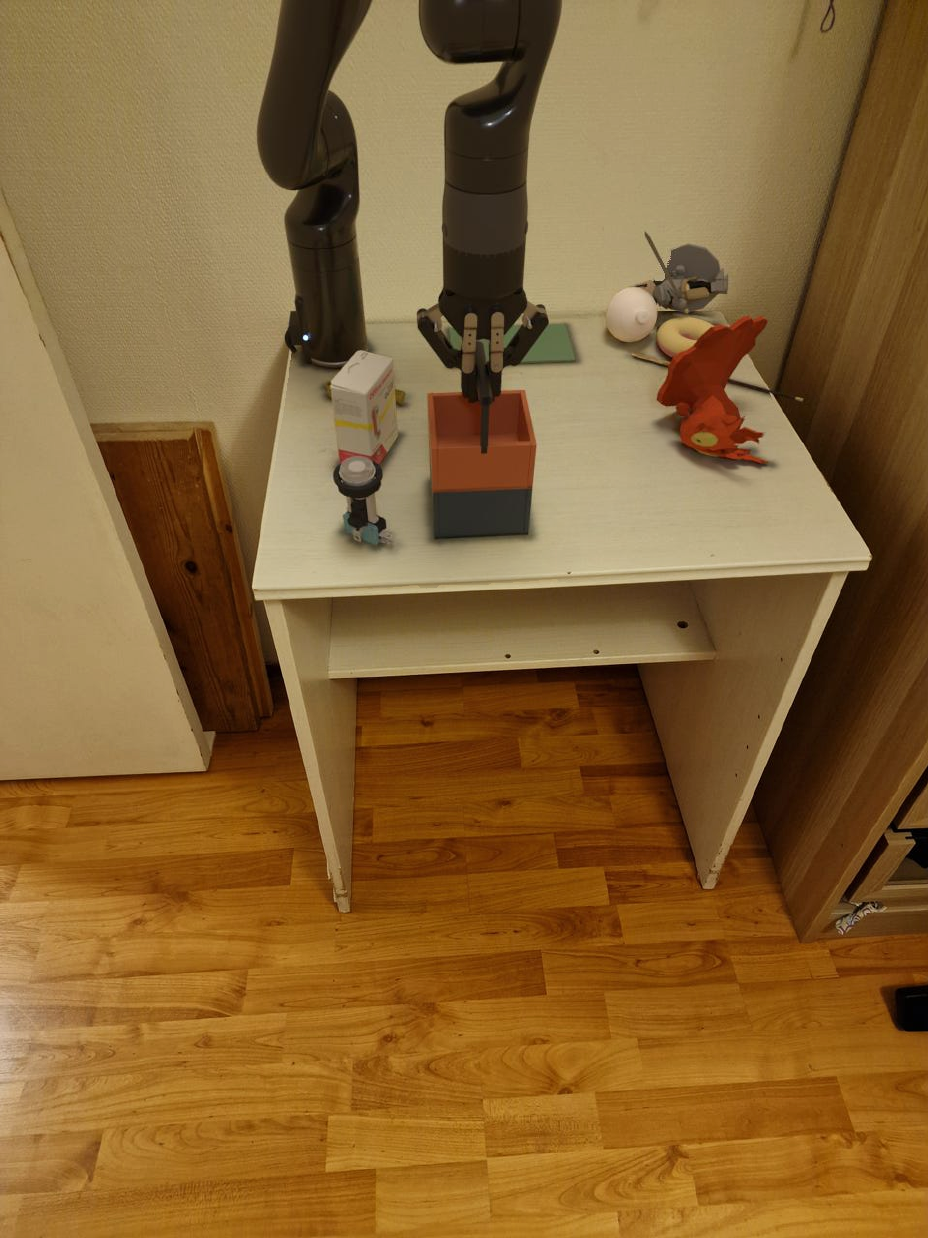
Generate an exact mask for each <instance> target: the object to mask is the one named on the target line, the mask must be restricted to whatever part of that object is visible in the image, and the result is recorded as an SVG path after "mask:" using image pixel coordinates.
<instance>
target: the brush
mask: <svg viewBox="0 0 928 1238" xmlns="http://www.w3.org/2000/svg"><path fill="white" fill-rule="evenodd" d="M631 355H632V356H635V357H637V358H639V359H642V360H646V361H651V362H654V363H657V364H661V365H664V366H666V367H669V365H670V363H671V361H669V360H664V359H658V358H656V357H651V356H648V355H645V354H640V353H631ZM727 383H733V384H736V385H740V386H743V387H747V388H751V389H755V390H758V391H762V392H765V393H768V394H772V395H776V396H780V397H784V398H787V399H791V400H794V401H797V402H801V403H803V401H804V398H803V397H798V396H794V395H790V394H787V393H782V392H779V391H775V390H772V389H768V388H764V387H761V386H757V385H754V384H750V383H746V382H742V381H738V380H734V379H731V378H729V380H728V382H727Z"/></svg>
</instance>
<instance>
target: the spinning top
mask: <svg viewBox="0 0 928 1238" xmlns="http://www.w3.org/2000/svg"><path fill="white" fill-rule="evenodd" d="M657 319H658V304H657V305H656V302H655V300H654V298H653V297H652V295H651V294H650V293H649V292H647V291H646V290H644V289H642V288H638V287H630V288H628V287H626V288H623V289H621V290H619V291H618V292H617V293H615V294H614V295H613V296H612V298H611V299H610V301H608V304H607V306H606V309H605V324H606V327H607V329H608V331H609V332H610V334H611V335H612V336H613V337H614V338H615V339H617V340H619V341H621V342H624V343H635V342H639V341H641V340H643V339H644V338H646V337H647V336H648V335H649V334H650V333H651V332H652V330H653V329H654V327H655V325H656V323H657Z"/></svg>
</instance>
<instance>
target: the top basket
mask: <svg viewBox="0 0 928 1238" xmlns="http://www.w3.org/2000/svg"><path fill="white" fill-rule="evenodd" d="M474 364H475V371H476V397H475V403H469V402H468V398H464V397H463V395H462V391H452V392H451V391H449V392H428V393H426V395H427V423H428V427H427V428H428V448H429V447H430V456H429V462H430V461H431V475H432V488H433V493H437V492H460V491H484V490H508V489H532V490H533V488H534V475H535V466H536V454H537V445H538V444H537V440H536V435H535V431H534V425H533V421H532V416H531V411H530V408H529V402H528V398H527V393H526V389H506V390H503V389H502V390H501V393H500V395H499V397H495V399H494V402H493V398H492V392H491V386H490V380H489V375H488V369H487V362H486V356H485V350H484V345H483V343H482V342H480V341H476V347H475V355H474Z"/></svg>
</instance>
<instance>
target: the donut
mask: <svg viewBox="0 0 928 1238" xmlns="http://www.w3.org/2000/svg"><path fill="white" fill-rule="evenodd" d="M714 326H715V325H713V323H711V322H708V321H707V320H704V319H701V318H697V317H689V316H678V317H677V316H676V317H673V318H669V319H667V320H666V321H664V322H663V323H662V324H661V325H660V327H659V328H658V330H657V333H656V342H657V344H658V347H659V348H660V350H661V351H662V352H663V353H664V354H665V355H667V356H669V357H670V358H672V359H673V358H674V357H675V356H676V355H678V354H679V353H680V352H682V351H686V350H688V349H689V348H691V347H692V346H693V345H694V344H695V343H696V342H697V340H698V339H699V338H700V337H701V335H702V334H704V333H705V332H706V331H707V330H708V329H709V328H711V327H714Z"/></svg>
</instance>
